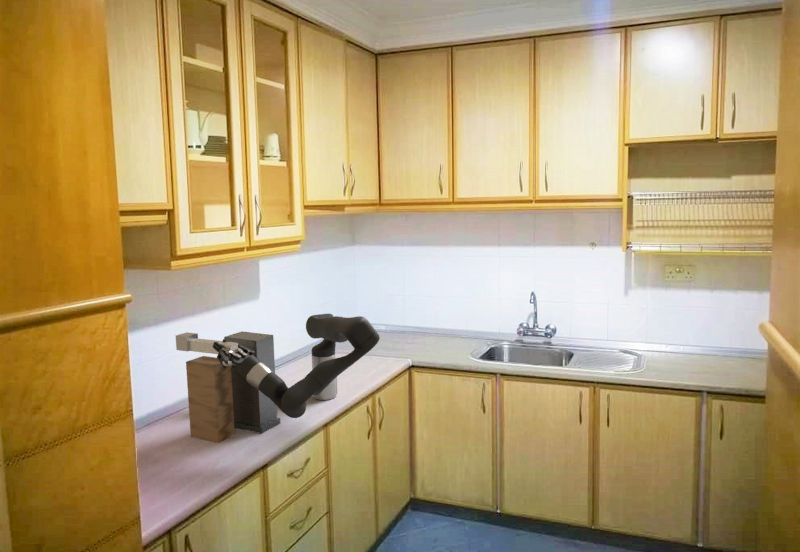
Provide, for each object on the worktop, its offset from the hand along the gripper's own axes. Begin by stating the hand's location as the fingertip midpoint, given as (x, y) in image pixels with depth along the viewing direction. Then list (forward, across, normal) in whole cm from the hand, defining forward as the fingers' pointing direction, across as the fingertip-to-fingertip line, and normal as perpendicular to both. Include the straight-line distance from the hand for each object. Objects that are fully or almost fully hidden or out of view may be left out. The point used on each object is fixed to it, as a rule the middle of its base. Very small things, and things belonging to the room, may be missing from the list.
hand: (218, 342), depth 205 cm
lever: (+3, 0, +6) cm, 6 cm away
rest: (-12, 0, +31) cm, 33 cm away
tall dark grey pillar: (-17, -14, +28) cm, 35 cm away
